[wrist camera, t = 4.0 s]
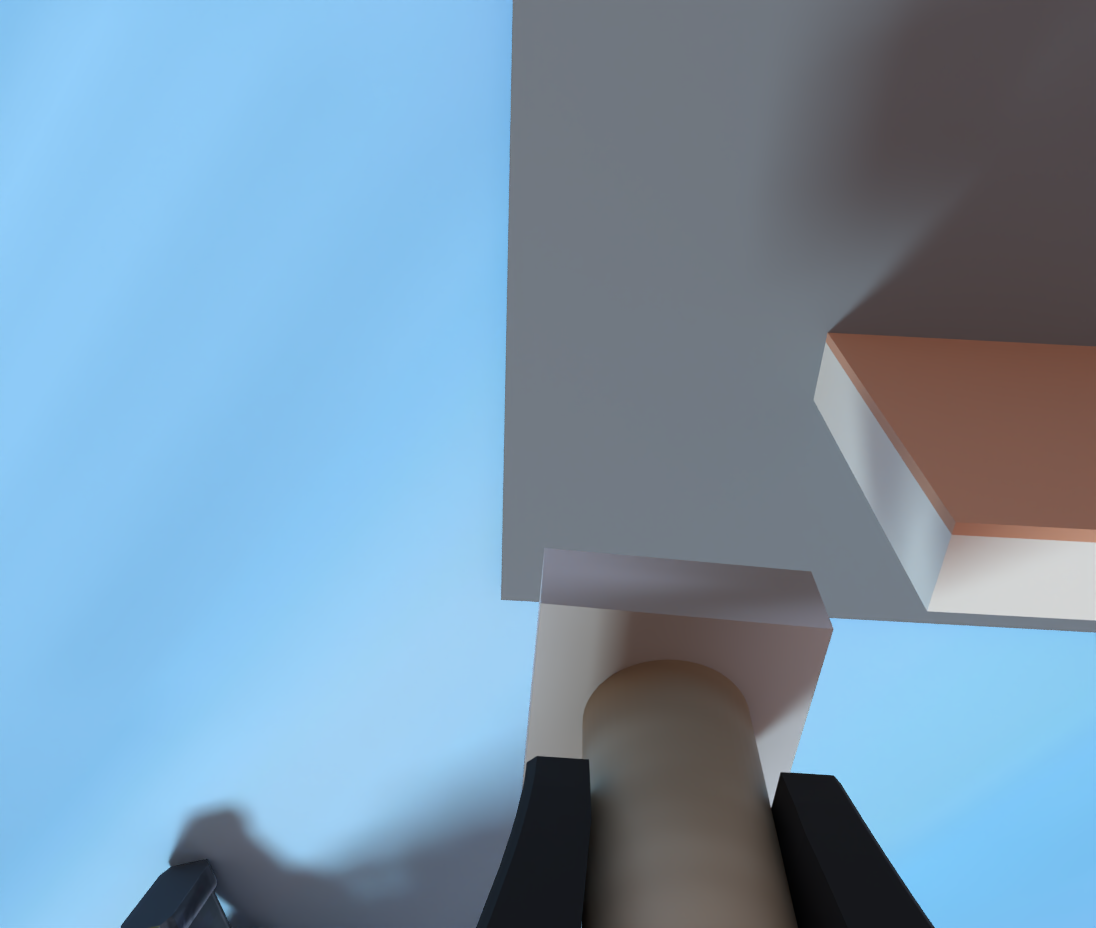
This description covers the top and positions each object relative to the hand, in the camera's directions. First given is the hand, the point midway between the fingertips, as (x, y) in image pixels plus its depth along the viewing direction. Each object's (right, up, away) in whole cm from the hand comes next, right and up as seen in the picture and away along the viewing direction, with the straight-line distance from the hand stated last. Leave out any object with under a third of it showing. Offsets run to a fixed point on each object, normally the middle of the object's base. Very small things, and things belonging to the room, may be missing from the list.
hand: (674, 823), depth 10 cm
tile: (+8, +6, +8) cm, 12 cm away
